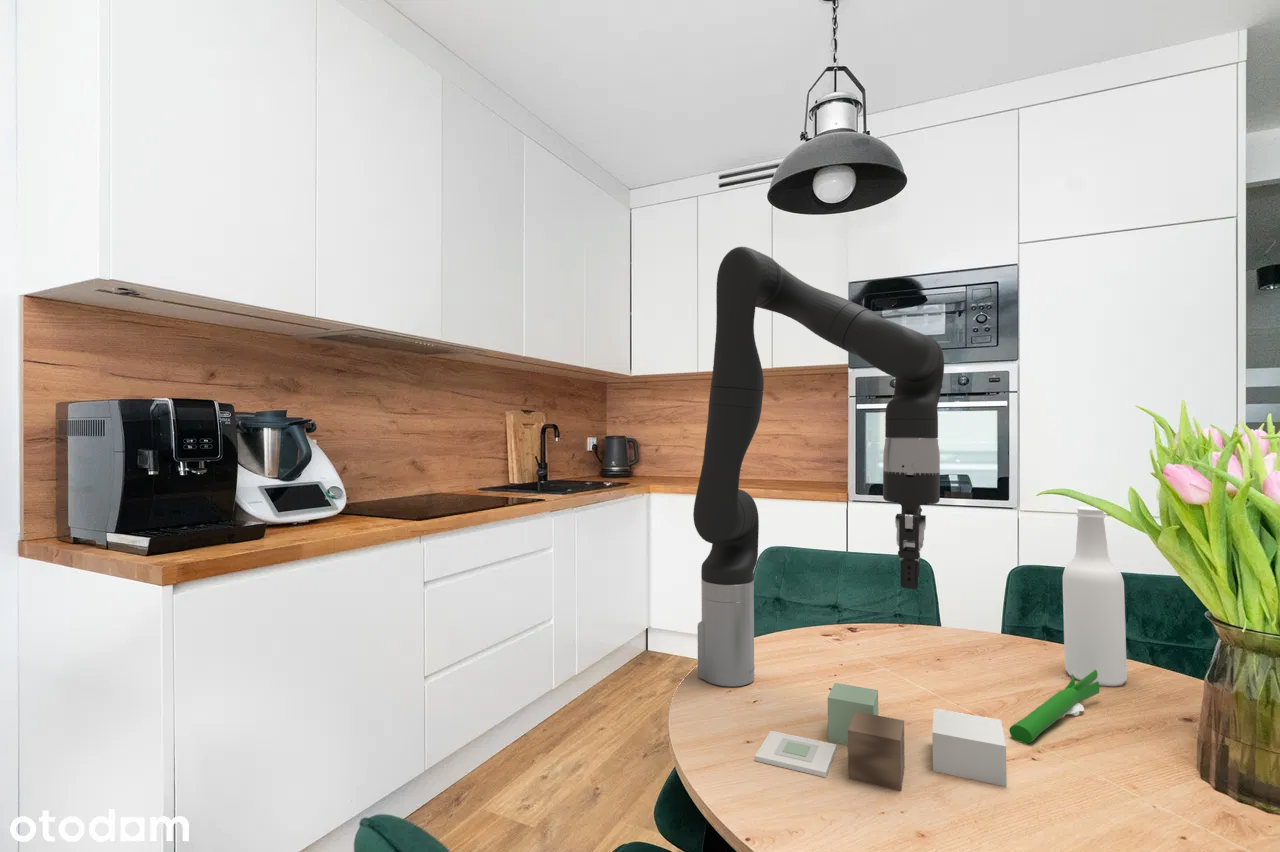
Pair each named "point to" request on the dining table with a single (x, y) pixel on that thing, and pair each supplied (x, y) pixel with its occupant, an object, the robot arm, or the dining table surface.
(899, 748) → the walnut block
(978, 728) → the grey base block
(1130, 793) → the dining table surface
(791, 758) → the card
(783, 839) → the dining table surface
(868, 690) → the sage block
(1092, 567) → the alcohol
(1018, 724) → the green onion
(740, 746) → the dining table surface
